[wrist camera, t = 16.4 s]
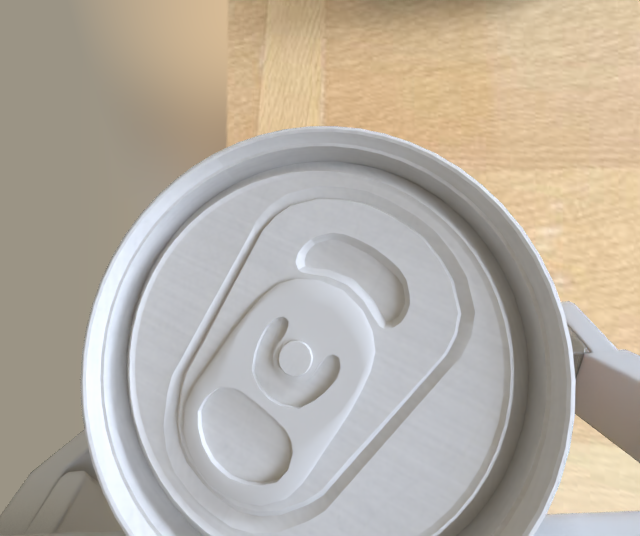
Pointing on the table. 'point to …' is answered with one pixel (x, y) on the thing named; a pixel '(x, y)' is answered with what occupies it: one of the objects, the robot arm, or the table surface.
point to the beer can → (327, 350)
